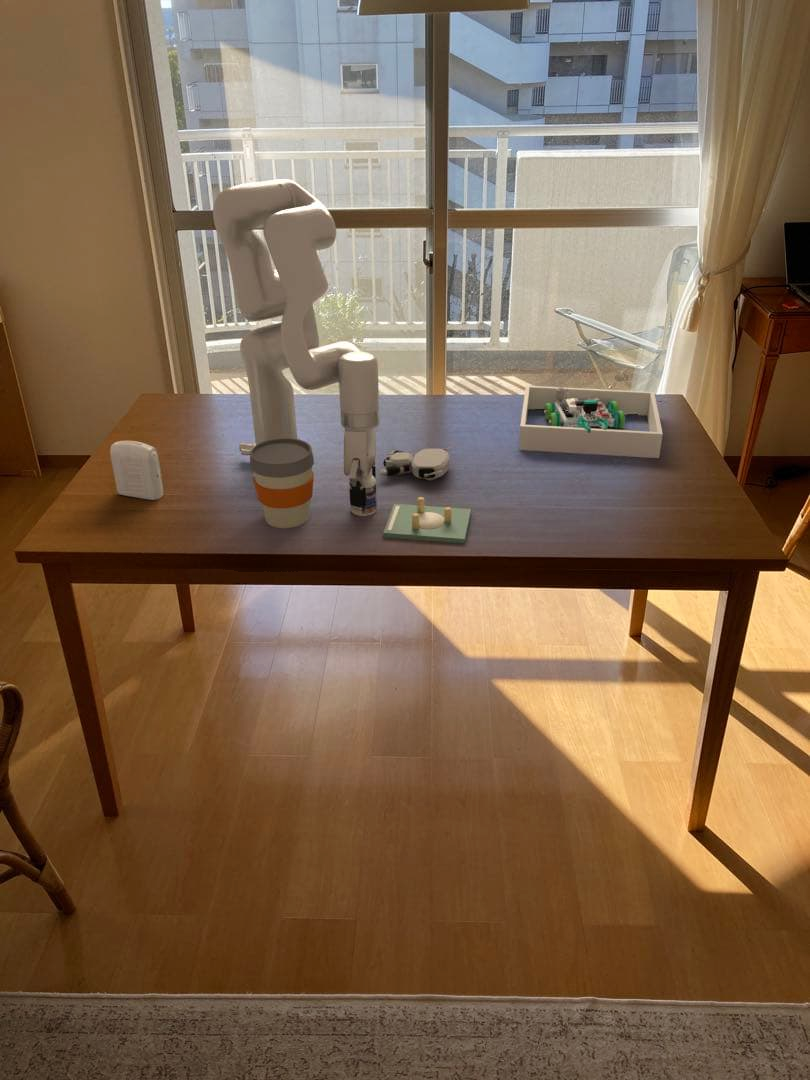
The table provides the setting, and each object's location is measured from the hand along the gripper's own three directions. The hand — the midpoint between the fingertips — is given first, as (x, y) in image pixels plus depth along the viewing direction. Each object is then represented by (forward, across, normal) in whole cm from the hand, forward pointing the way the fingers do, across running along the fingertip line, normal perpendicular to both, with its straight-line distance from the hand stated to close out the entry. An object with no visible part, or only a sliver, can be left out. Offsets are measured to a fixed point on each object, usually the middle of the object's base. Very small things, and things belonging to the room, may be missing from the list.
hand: (363, 494), depth 179 cm
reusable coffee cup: (+4, +5, -15) cm, 16 cm away
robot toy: (+4, -19, +8) cm, 21 cm away
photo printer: (+4, 0, -49) cm, 49 cm away
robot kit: (+4, -47, +46) cm, 66 cm away
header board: (+4, +4, +14) cm, 15 cm away
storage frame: (+4, -47, +46) cm, 66 cm away
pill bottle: (+4, 0, 0) cm, 4 cm away
